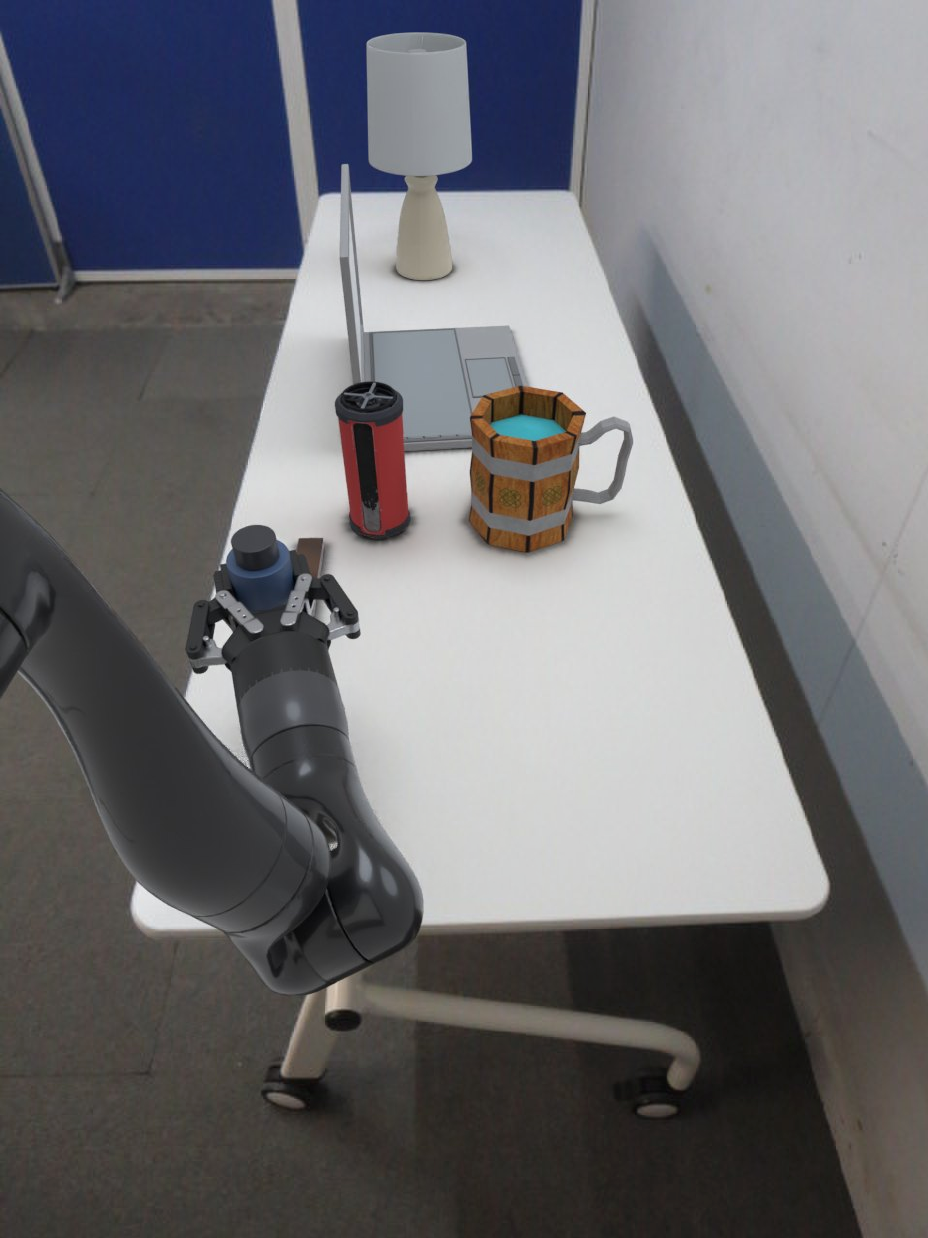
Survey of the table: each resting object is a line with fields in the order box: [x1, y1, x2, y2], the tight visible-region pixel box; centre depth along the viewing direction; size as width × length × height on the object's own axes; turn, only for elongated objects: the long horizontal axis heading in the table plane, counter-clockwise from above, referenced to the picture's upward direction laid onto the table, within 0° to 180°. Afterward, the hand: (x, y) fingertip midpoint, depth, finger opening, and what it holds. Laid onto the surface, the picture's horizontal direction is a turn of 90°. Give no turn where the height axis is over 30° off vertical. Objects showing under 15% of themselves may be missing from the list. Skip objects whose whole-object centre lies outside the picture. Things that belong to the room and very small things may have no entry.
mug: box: [468, 386, 634, 553], centre depth 98 cm, size 20×14×15 cm
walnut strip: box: [296, 537, 326, 618], centre depth 92 cm, size 18×3×2 cm, turn 2°
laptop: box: [339, 163, 529, 452], centre depth 116 cm, size 35×26×27 cm
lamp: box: [366, 32, 473, 281], centre depth 145 cm, size 19×19×37 cm
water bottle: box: [225, 524, 295, 612], centre depth 69 cm, size 5×5×12 cm
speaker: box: [334, 381, 411, 539], centre depth 96 cm, size 8×8×18 cm
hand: (259, 564), depth 70 cm, fingers closed on water bottle, 5 cm apart
